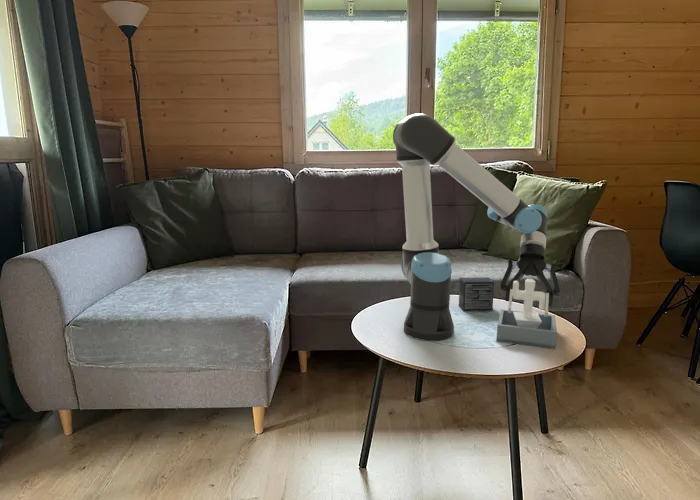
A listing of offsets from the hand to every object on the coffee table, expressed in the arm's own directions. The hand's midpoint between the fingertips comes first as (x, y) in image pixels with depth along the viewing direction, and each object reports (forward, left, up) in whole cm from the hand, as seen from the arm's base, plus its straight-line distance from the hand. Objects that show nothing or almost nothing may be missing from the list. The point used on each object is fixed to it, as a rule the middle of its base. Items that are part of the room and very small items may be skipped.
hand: (527, 312), depth 146 cm
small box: (-17, +24, -9) cm, 31 cm away
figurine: (0, +3, -6) cm, 7 cm away
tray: (0, +3, -8) cm, 9 cm away
